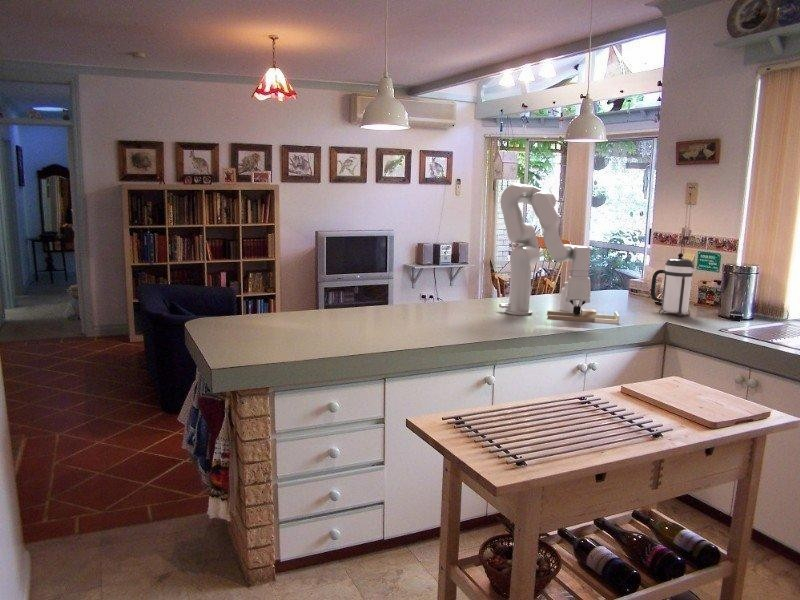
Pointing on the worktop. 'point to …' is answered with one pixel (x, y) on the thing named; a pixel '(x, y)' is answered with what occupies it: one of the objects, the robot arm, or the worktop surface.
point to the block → (588, 313)
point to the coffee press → (675, 285)
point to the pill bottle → (564, 304)
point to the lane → (573, 317)
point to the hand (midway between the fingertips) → (576, 314)
